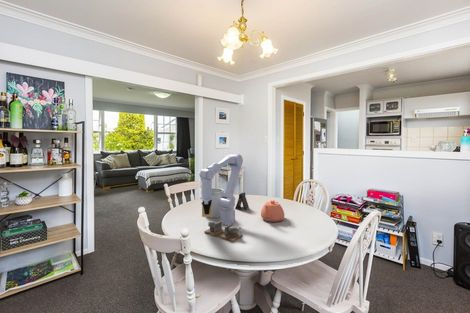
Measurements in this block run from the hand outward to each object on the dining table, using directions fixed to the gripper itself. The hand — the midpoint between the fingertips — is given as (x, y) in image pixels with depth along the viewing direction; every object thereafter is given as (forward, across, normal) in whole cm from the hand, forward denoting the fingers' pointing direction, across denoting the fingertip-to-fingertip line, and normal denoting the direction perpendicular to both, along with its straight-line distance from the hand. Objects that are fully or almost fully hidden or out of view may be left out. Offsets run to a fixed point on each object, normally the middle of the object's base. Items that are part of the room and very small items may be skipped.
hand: (207, 212), depth 134 cm
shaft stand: (+10, +7, +9) cm, 15 cm away
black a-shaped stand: (+11, -40, +24) cm, 48 cm away
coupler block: (+2, 0, 0) cm, 2 cm away
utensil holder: (+11, -28, +3) cm, 30 cm away
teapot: (+11, -16, +42) cm, 46 cm away
